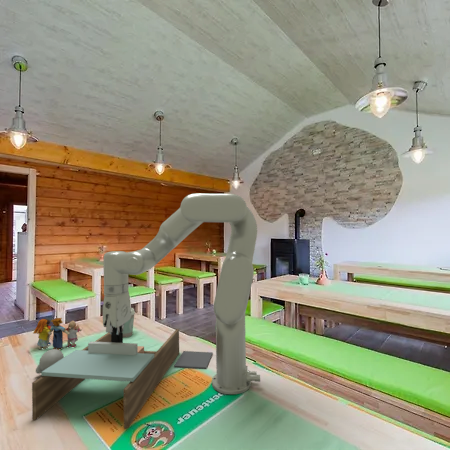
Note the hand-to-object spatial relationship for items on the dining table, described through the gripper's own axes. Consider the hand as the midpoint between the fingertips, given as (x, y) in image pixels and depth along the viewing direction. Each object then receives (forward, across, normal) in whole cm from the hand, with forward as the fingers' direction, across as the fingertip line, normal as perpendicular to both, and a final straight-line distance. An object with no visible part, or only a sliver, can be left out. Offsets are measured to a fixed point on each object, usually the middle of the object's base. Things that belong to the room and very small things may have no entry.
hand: (117, 345), depth 90 cm
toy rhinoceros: (+13, +2, +24) cm, 27 cm away
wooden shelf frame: (+12, +2, 0) cm, 13 cm away
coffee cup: (+13, +39, +18) cm, 45 cm away
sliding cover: (+2, -9, 0) cm, 9 cm away
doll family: (+13, +22, +42) cm, 49 cm away
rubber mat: (+12, +18, -21) cm, 30 cm away
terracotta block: (+12, +12, 0) cm, 17 cm away
